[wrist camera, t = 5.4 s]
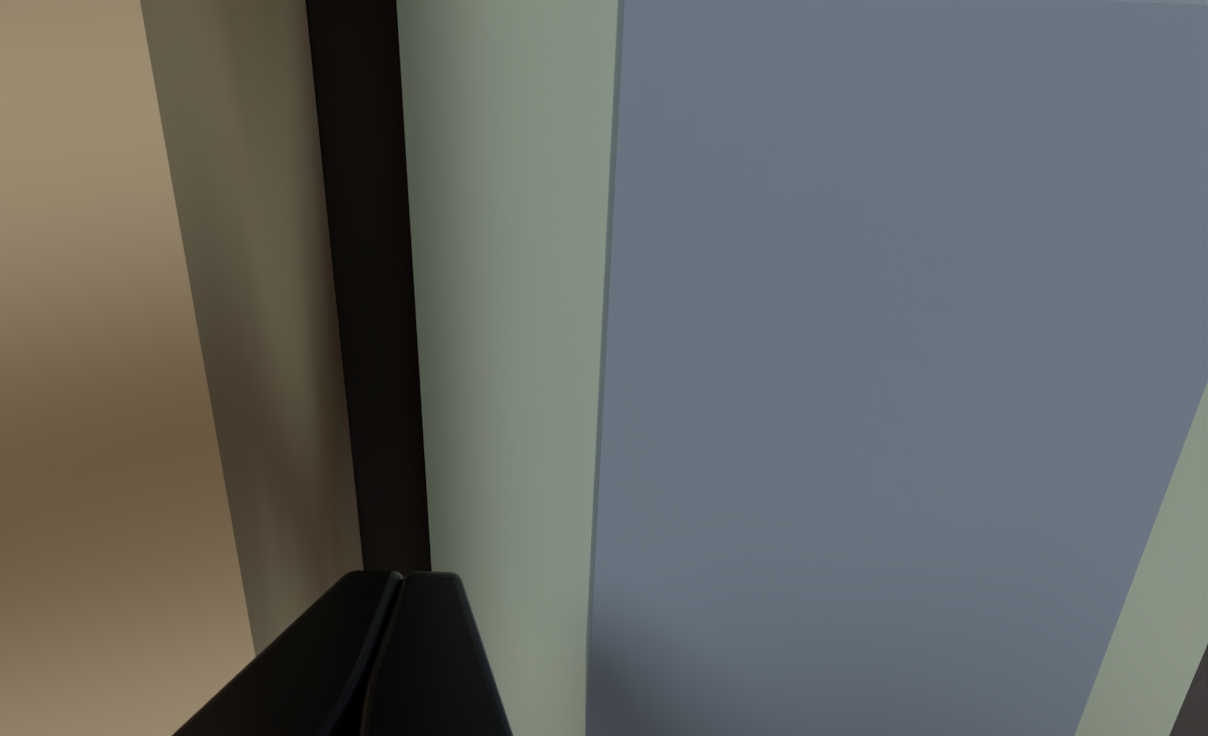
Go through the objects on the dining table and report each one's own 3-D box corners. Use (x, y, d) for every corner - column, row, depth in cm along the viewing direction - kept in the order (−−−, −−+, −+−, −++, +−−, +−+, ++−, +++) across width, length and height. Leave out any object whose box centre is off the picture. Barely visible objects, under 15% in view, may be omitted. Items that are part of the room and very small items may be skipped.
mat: (1096, 873, 17) (1104, 889, 17) (453, 864, 17) (451, 881, 17) (1779, -796, 8) (1821, -820, 7) (350, -870, 7) (340, -897, 7)
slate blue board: (584, 753, 12) (586, 638, 14) (1063, 766, 12) (1004, 650, 14) (626, -24, 8) (620, -47, 10) (1345, 12, 8) (1213, -19, 10)
